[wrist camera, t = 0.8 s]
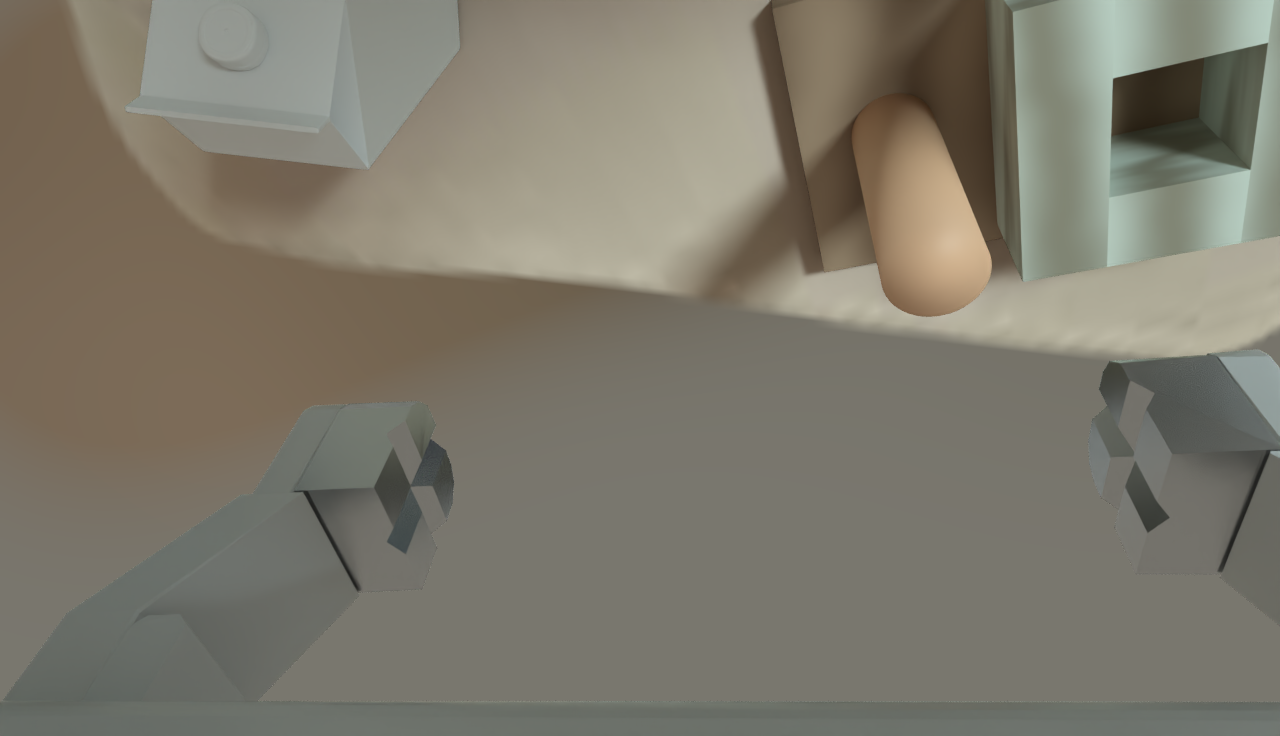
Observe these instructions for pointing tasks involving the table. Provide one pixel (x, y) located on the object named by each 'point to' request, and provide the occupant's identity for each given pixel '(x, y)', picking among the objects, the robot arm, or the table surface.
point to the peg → (917, 209)
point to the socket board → (928, 71)
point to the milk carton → (294, 73)
